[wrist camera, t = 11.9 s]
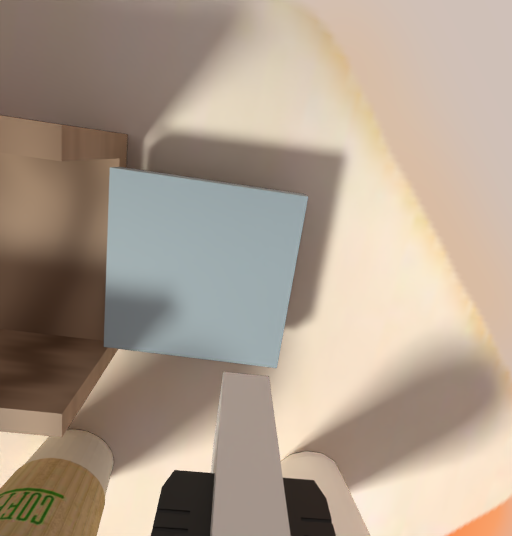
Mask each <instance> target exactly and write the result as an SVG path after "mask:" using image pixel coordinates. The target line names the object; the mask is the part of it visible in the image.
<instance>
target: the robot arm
mask: <svg viewBox="0 0 512 536" xmlns="http://www.w3.org/2000/svg"><path fill="white" fill-rule="evenodd" d="M151 536H336V534H335V530H334V527H333V524H332V519H331V515H330V511H329V507H328V503H327V499H326V497H325V496H324V494H323V493H322V491H321V490H320V488H319V487H318V485H317V484H316V482H315V481H314V480H306V479H294V478H283V476H282V469H281V461H280V454H279V447H278V439H277V432H276V424H275V417H274V410H273V402H272V395H271V388H270V380H269V376H260V375H251V374H241V373H231V372H223V378H222V385H221V393H220V400H219V407H218V414H217V422H216V429H215V436H214V445H213V456H212V468H211V473H203V472H191V471H179V470H174V472H173V473H172V474H171V476H170V477H169V478H168V480H167V481H166V482H165V484H164V485H163V487H162V490H161V494H160V498H159V503H158V507H157V512H156V516H155V520H154V524H153V530H152V533H151Z"/></svg>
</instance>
